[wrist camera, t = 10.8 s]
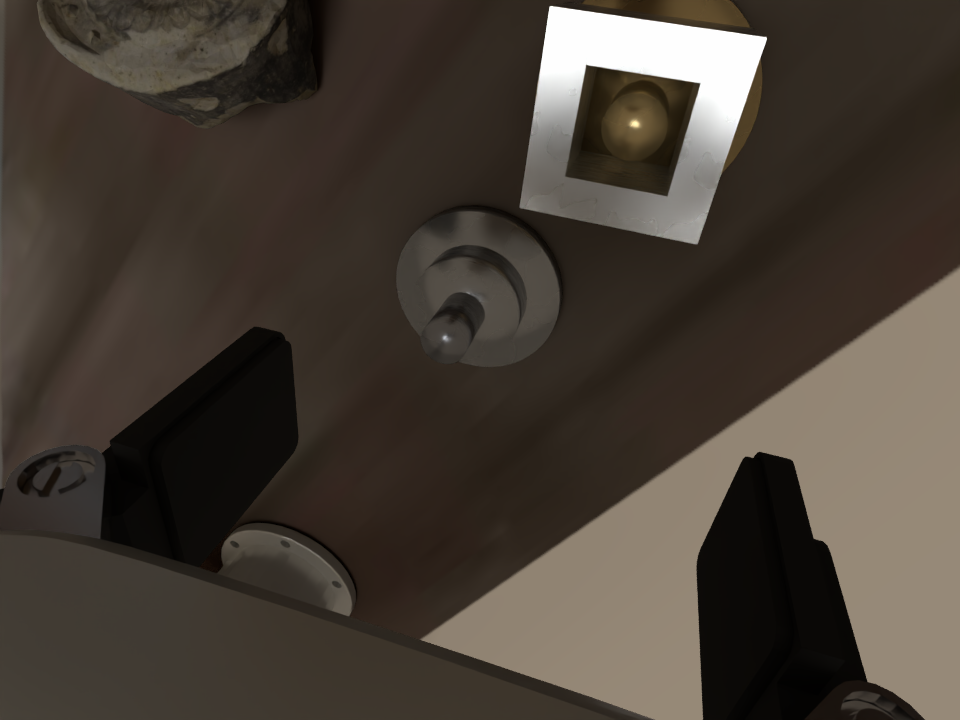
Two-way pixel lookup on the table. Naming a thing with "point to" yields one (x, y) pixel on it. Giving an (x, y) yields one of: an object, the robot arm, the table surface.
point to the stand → (479, 287)
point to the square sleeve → (634, 184)
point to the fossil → (190, 51)
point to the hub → (656, 94)
